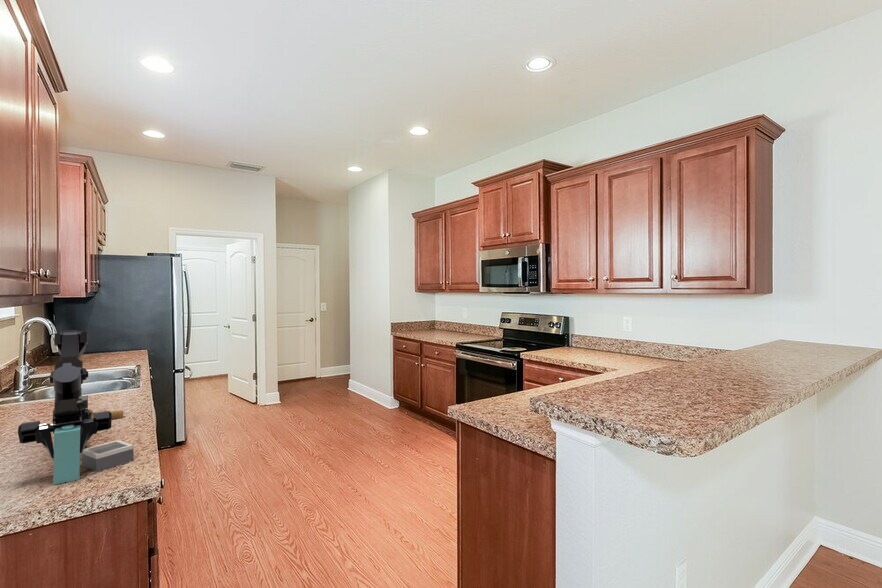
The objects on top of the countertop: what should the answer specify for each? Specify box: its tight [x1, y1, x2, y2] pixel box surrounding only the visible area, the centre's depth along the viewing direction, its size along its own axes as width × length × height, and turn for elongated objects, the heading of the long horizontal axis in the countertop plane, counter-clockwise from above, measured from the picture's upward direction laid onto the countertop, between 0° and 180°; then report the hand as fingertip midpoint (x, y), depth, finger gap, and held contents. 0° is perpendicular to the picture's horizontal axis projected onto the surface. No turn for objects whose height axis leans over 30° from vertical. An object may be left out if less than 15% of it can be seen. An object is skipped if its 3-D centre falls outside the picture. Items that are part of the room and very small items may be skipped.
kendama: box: [88, 409, 124, 419], centre depth 162 cm, size 8×6×18 cm
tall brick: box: [52, 425, 81, 486], centre depth 112 cm, size 5×5×14 cm
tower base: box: [80, 439, 135, 473], centre depth 122 cm, size 9×9×4 cm
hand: (66, 455), depth 111 cm, fingers closed on tall brick, 5 cm apart
